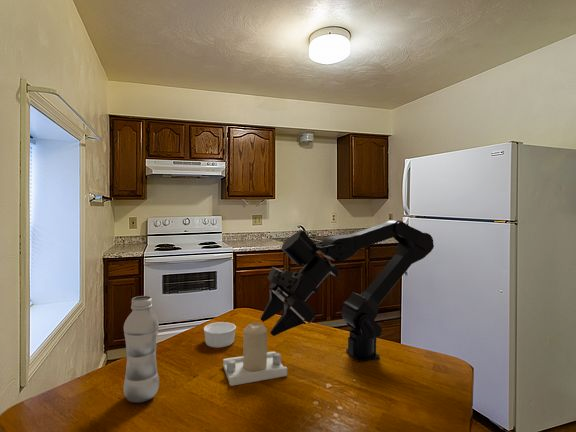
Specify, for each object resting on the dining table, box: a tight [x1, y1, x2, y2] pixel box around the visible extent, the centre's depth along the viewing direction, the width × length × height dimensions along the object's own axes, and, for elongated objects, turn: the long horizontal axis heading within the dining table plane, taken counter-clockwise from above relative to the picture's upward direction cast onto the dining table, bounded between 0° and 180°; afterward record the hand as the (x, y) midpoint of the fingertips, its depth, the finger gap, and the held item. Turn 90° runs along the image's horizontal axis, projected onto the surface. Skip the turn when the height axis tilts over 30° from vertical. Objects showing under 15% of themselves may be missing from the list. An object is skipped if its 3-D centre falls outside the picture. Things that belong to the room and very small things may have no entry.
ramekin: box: [203, 321, 237, 349], centre depth 93 cm, size 9×9×4 cm
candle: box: [242, 321, 268, 372], centre depth 77 cm, size 6×6×10 cm
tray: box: [222, 350, 288, 387], centre depth 77 cm, size 13×9×3 cm
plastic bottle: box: [122, 295, 160, 404], centre depth 65 cm, size 6×7×20 cm
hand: (266, 327), depth 77 cm, fingers open, 9 cm apart
